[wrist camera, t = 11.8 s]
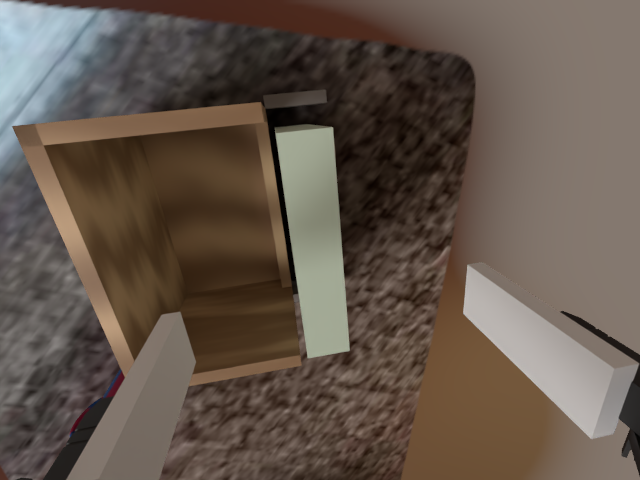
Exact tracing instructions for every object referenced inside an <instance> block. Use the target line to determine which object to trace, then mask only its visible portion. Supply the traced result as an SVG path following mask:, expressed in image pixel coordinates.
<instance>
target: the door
mask: <svg viewBox="0 0 640 480" xmlns="http://www.w3.org/2000/svg"><path fill="white" fill-rule="evenodd" d="M275 134H276V141H277V148H278V155H279V162H280V169H281V176H282V183H283V190H284V197H285V204H286V211H287V218H288V225H289V232H290V239H291V246H292V253H293V260H294V267H295V274H296V281H297V287H298V294H299V301H300V308H301V314H302V321H303V328H304V335H305V341H306V348H307V355H308V358H312V357H318V356H323V355H329V354H334V353H340V352H345V351H350V349H349V335H348V322H347V308H346V295H345V282H344V268H343V255H342V242H341V228H340V215H339V202H338V188H337V175H336V161H335V158H336V152H335V145H334V135H333V127H328V126H319V125H311V124H301V125H292V126H282V127H275Z"/></svg>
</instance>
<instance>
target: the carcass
mask: <svg viewBox="0 0 640 480" xmlns="http://www.w3.org/2000/svg"><path fill="white" fill-rule="evenodd" d="M263 98H264V105H265V108H264V106H263V105H262V103H261V102H256V103H246V104H236V105H225V106H215V107H205V108H195V109H184V110H174V111H164V112H153V113H143V114H133V115H123V116H112V117H102V118H92V119H82V120H71V121H61V122H51V123H41V124H30V125H20V126H12V127H13V129H14V131H15V134H16V136H17V138H18V140H19V143H20V145H21V147H22V149H23V152H24V154H25V156H26V158H27V160H28V163H29V165H30V167H31V169H32V172H33V174H34V176H35V178H36V181H37V183H38V185H39V187H40V189H41V192H42V194H43V196H44V198H45V201H46V203H47V205H48V207H49V209H50V212H51V214H52V216H53V218H54V221H55V223H56V225H57V227H58V230H59V232H60V234H61V236H62V238H63V241H64V243H65V245H66V247H67V250H68V252H69V254H70V256H71V259H72V261H73V263H74V265H75V267H76V270H77V272H78V274H79V276H80V279H81V281H82V283H83V285H84V287H85V290H86V292H87V294H88V296H89V299H90V301H91V303H92V305H93V308H94V310H95V312H96V314H97V316H98V319H99V321H100V323H101V325H102V328H103V330H104V332H105V334H106V337H107V339H108V341H109V343H110V345H111V348H112V350H113V352H114V354H115V357H116V359H117V361H118V363H119V365H120V368H121V370H122V372H123V374H124V377H126V375H127V374H128V372H129V370H130V368H131V367H132V365H133V363H134V362H135V360H136V358H137V356H138V355H139V353H140V351H141V349H142V348H143V346H144V344H145V343H146V341H147V339H148V337H149V336H150V334H151V332H152V330H153V329H154V327H155V325H156V323H157V322H158V320H159V318H160V317H161V315H163V314H169V313H175V312H181V316H182V319H183V322H184V325H185V328H186V332H187V335H188V338H189V341H190V344H191V347H192V351H193V354H194V357H195V360H196V364H195V367H194V370H193V373H192V377H191V380H190V383H189V386H193V385H198V384H204V383H209V382H215V381H220V380H226V379H231V378H236V377H242V376H247V375H253V374H258V373H264V372H269V371H274V370H280V369H285V368H291V367H296V366H301V357H300V349H299V340H298V332H297V323H296V315H295V307H294V303H296V302H300V301H299V294H298V287H297V281H296V280H294V281H291V274H290V268H289V261H288V254H287V248H286V241H285V234H284V228H283V221H282V214H281V208H280V201H279V195H278V188H277V181H276V175H275V168H274V161H273V155H272V148H271V141H270V135H269V128H268V121H267V115H266V110H269V109H279V108H289V107H299V106H309V105H319V104H324V103H327V97H326V89H324V90H314V91H303V92H293V93H282V94H272V95H263ZM293 297H294V298H293Z"/></svg>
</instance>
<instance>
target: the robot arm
mask: <svg viewBox="0 0 640 480" xmlns="http://www.w3.org/2000/svg"><path fill="white" fill-rule="evenodd" d="M467 267H468V268H467V278H466V289H465V301H464V312H463V314H464V315H465V316H466V317H467V318H468V319H469V320H470V321H472V323H473V324H474V325H475V326H476V327H477V328H478V329H480V330H481V331H482V332H483V333H484V334H485V335H486V336H487V337H488V338H489V339H490V340H491V341H492V342H493V343H494V344H495V345H496V346H497V347H498V348H499V349H500V350H501V351H502V352H503V353H504V354H505V355H506V356H507V357H508V358H509V359H510V360H511V361H512V362H513V363H514V364H515V365H516V366H517V367H518V368H519V369H520V370H521V371H522V372H523V373H524V374H525V375H526V376H528V378H529V379H530V380H532V381H533V382H534V383H535V384H536V385H537V386H538V387H539V388H540V389H541V390H542V391H543V392H544V393H545V394H546V395H547V396H548V397H549V398H550V399H551V400H552V401H553V402H554V403H555V404H556V405H557V406H558V407H559V408H560V409H561V410H562V411H563V412H564V413H565V414H566V415H567V416H568V417H569V418H570V419H571V420H573V422H574V423H575V424H576V425H577V426H578V427H580V428H581V429H582V430H583V431H584V432H585V433H586V434H587V435H588V436H589V437H590V438H591V439H594V438H598V437H602V436H607V435H611V434H614V432H615V429H616V426H617V424H618V421H619V419H620V420H621V421H622V422H623V423H625V424H626V425H627V426H628V427H629V428H630V430H629V433H628V435H627V438H626V441H625V443H624V446H623V448H622V456H623V457H627V456H628V453H629V451H630V450H632V452H633V455H634V460H635V462H636V465H637V469H638V472H639V475H640V355H639V354H638V353H636V352H634V351H633V350H631V349H629V348H628V347H626V346H625V345H623V344H621V343H619V342H618V341H617V340H615V339H613V338H612V337H608V336H607V334H605V333H604V332H602V331H601V330H599V329H596V328H595V327H594V326H593V325H591V324H589V323H588V322H586V321H584V320H583V319H581V318H579V317H576V316H574V315H572V314H569V313H567V312H564V311H561V312H559V311H557V310H556V309H554V308H553V307H551V306H550V305H548V304H546V303H545V302H544V301H542V300H540V299H539V298H537V297H536V296H534V295H533V294H531V293H530V292H528V291H526V290H525V289H523V288H522V287H520V286H519V285H517V284H516V283H514V282H513V281H511V280H509V279H508V278H506V277H505V276H503V275H502V274H500V273H499V272H497V271H496V270H494V269H493V268H491V267H489V266H488V265H486V264H485V263H483V262H481V263H474V264H468V266H467ZM195 364H196V360H195V357H194V354H193V351H192V347H191V344H190V341H189V338H188V335H187V332H186V328H185V325H184V322H183V319H182V316H181V312H175V313H169V314H163V315H161V317H160V318H159V320H158V322H157V323H156V325H155V327H154V329H153V330H152V332H151V334H150V336H149V337H148V339H147V341H146V343H145V344H144V346H143V348H142V349H141V351H140V353H139V355H138V356H137V358H136V360H135V362H134V363H133V365H132V367H131V368H130V370H129V372H128V374H127V375H126V377H125V379H124V381H123V382H122V384H121V386H120V388H119V389H118V391H117V393H116V394H115V396H112V397H107V398H102V399H100V400H99V401H98V402H97V403H96V404H95V405H94V406H93V407H92V408H91V409H90V410H89V411H88V412H87V413H86V414H85V415H84V417H83V418H82V420H81V421H80V423H79V424H78V426H77V428H76V429H75V433H73V434H72V435H71V437H70V438H69V440H68V442H67V443H66V447H64V448H63V449H62V451H61V452H60V454H59V456H58V457H57V459H56V460H55V462H54V463H53V465H52V466H51V468H50V470H49V471H48V473H47V474H46V476H45V477H44V479H43V480H159V478H160V475H161V471H162V468H163V465H164V462H165V459H166V456H167V452H168V449H169V446H170V443H171V440H172V437H173V434H174V430H175V427H176V424H177V421H178V418H179V415H180V411H181V408H182V405H183V402H184V399H185V396H186V392H187V389H188V386H189V383H190V380H191V377H192V373H193V370H194V367H195ZM16 480H32V479H29V478H20V479H16Z"/></svg>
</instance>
